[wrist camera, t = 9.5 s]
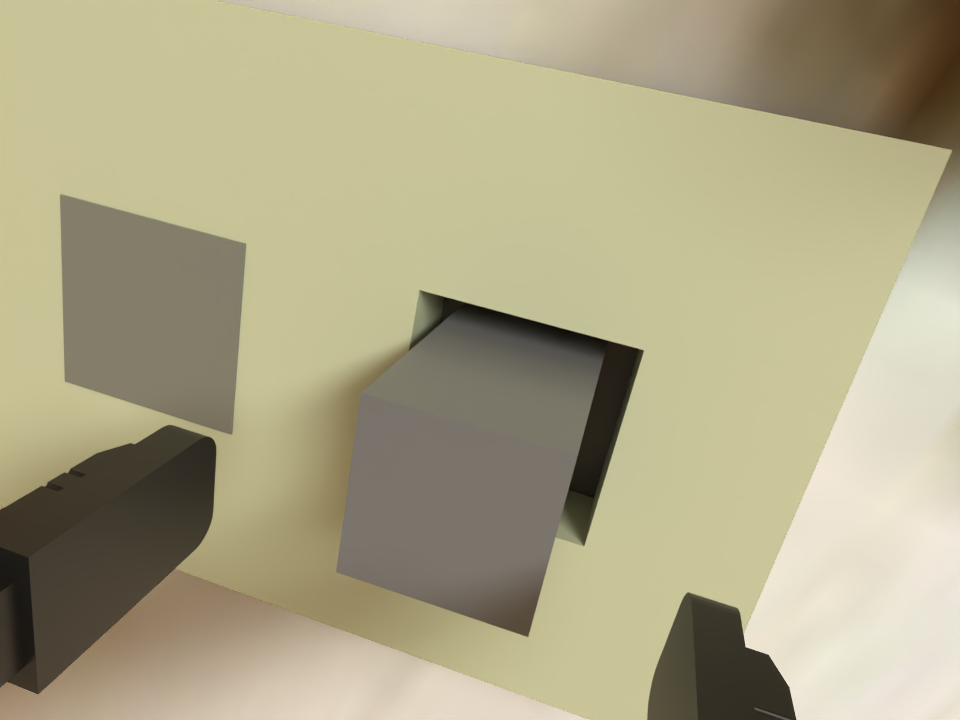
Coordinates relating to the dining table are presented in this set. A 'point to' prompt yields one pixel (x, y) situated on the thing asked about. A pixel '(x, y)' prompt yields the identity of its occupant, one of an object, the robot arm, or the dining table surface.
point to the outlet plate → (431, 300)
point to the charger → (469, 464)
